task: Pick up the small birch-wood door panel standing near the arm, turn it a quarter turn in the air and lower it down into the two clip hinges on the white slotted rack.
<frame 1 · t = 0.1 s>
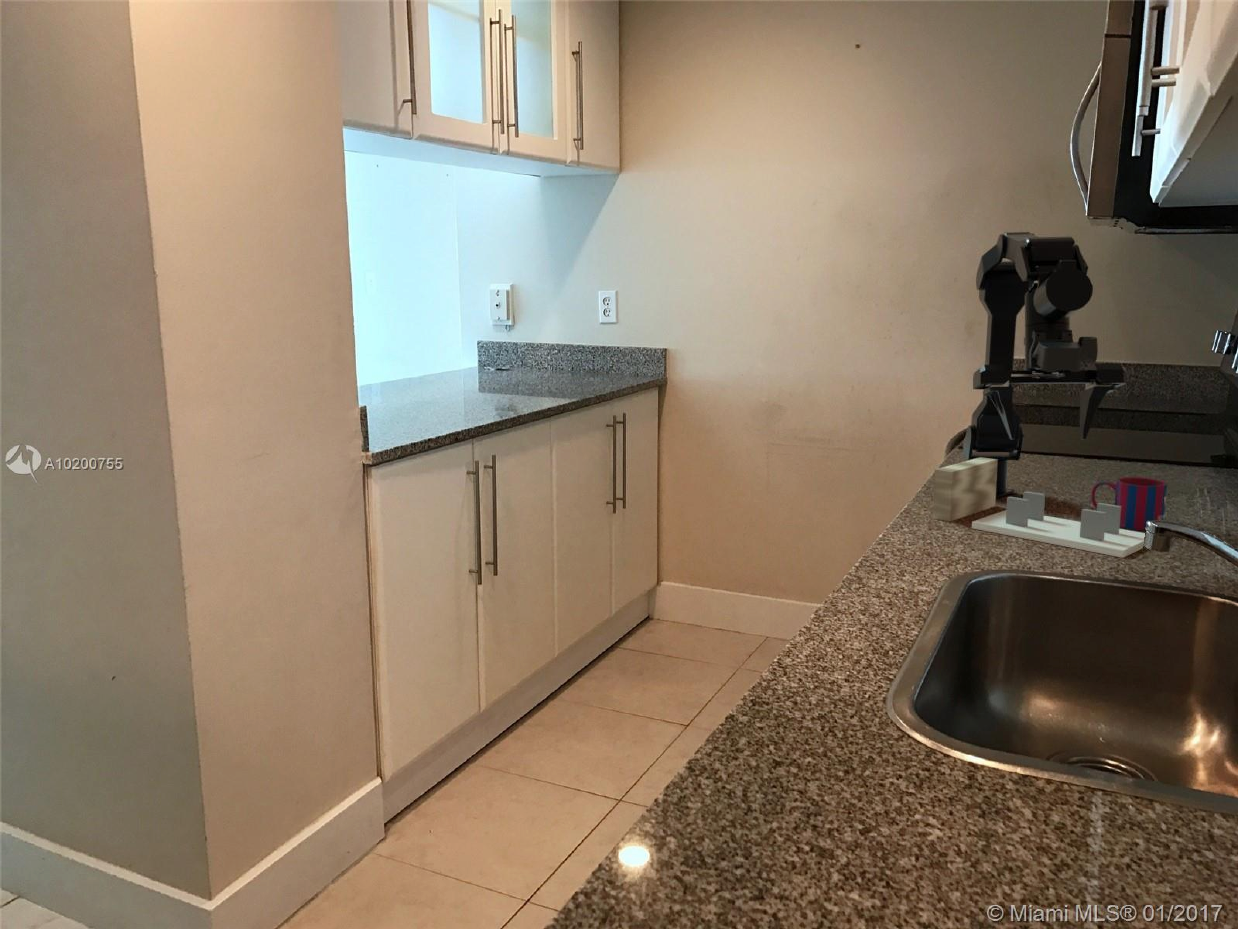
hand: (1047, 439, 132), 15 cm above the counter, tool pointing down, fingers open, 9 cm apart
door: (964, 512, 156), on the counter
mug: (1125, 525, 146), on the counter
white slotted rack: (1060, 534, 141), on the counter
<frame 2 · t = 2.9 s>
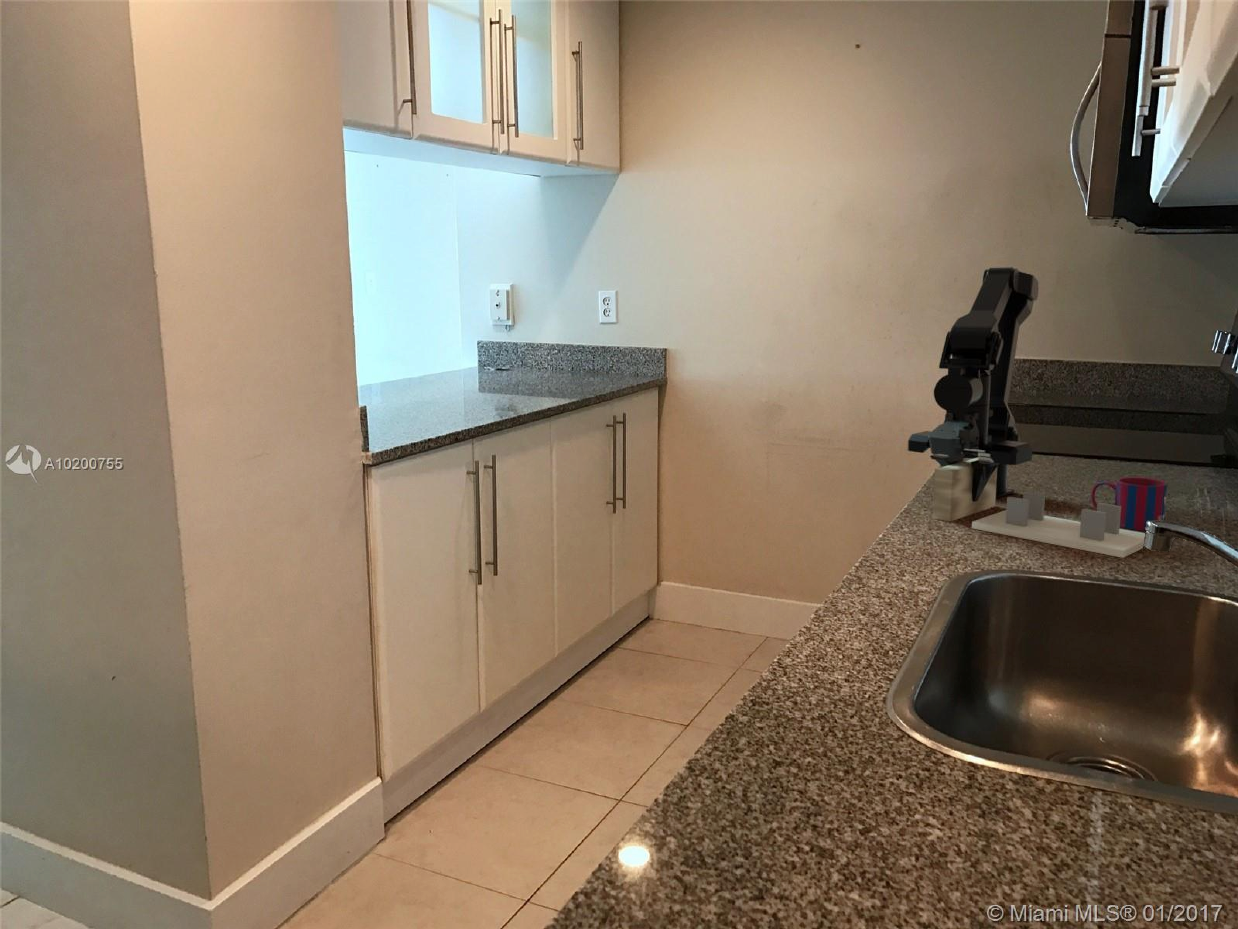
hand: (965, 499, 155), 2 cm above the counter, tool pointing down, fingers closed on door, 3 cm apart
door: (964, 512, 156), on the counter, touching gripper
everything else where it was.
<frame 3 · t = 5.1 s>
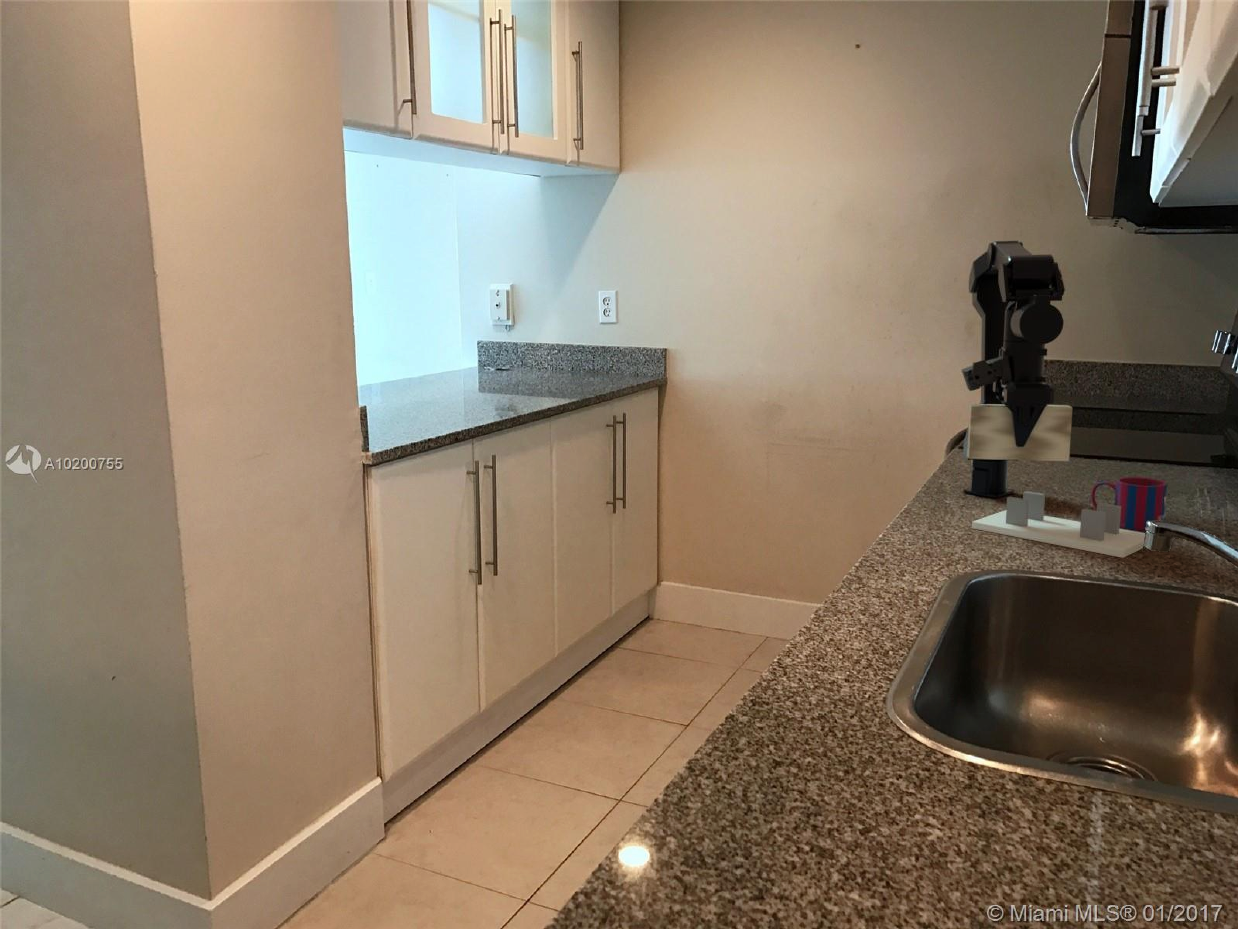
hand: (1018, 445, 145), 12 cm above the counter, tool pointing down, fingers closed on door, 3 cm apart
door: (1016, 458, 145), point 10 cm above the counter, touching gripper
everything else where it was.
when the fingers open (4 cm above the counter, at t = 7.4 s): door drops 1 cm, resting on white slotted rack.
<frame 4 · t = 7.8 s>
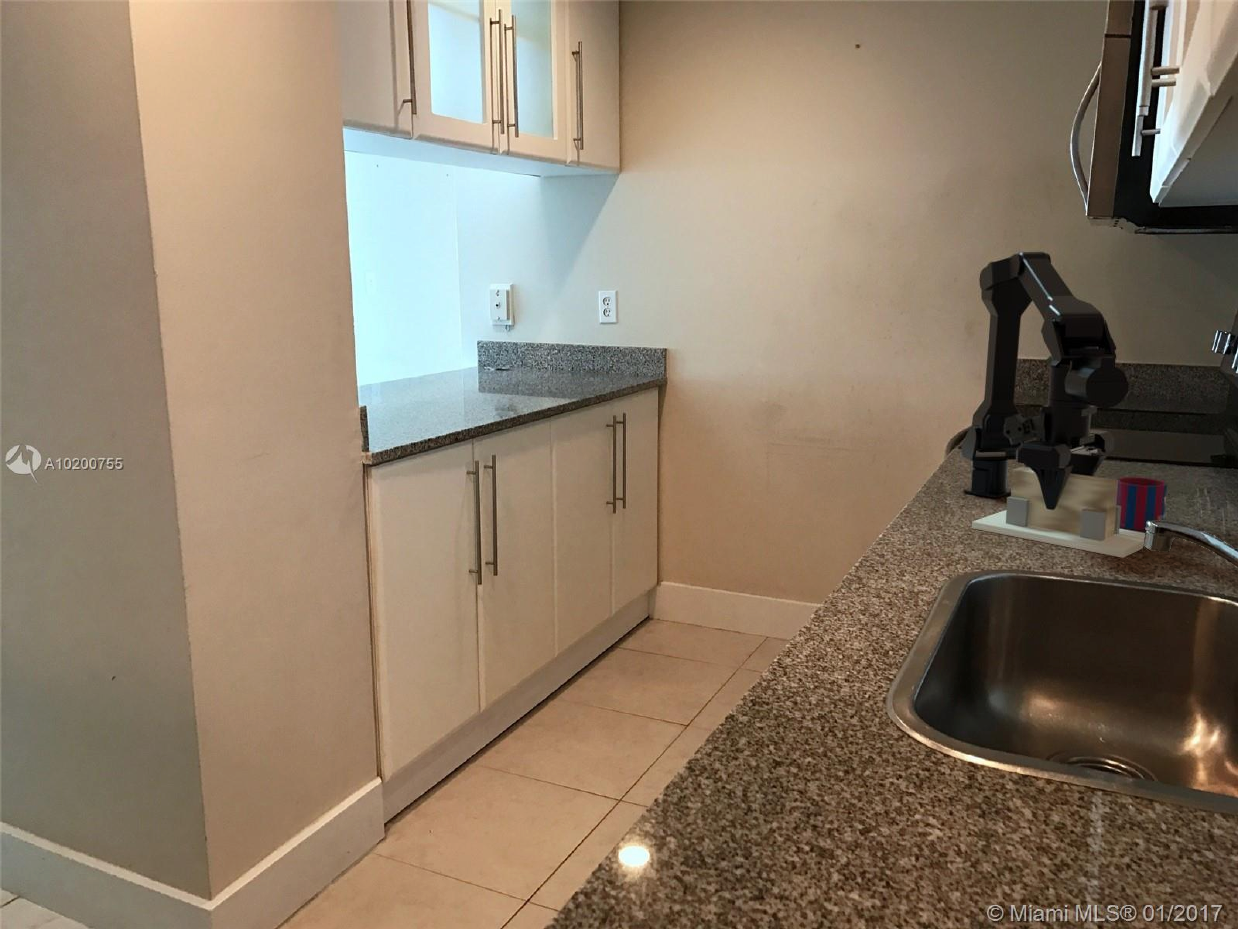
hand: (1062, 505, 140), 4 cm above the counter, tool pointing down, fingers open, 7 cm apart
door: (1060, 528, 141), point 1 cm above the counter, touching white slotted rack
everything else where it was.
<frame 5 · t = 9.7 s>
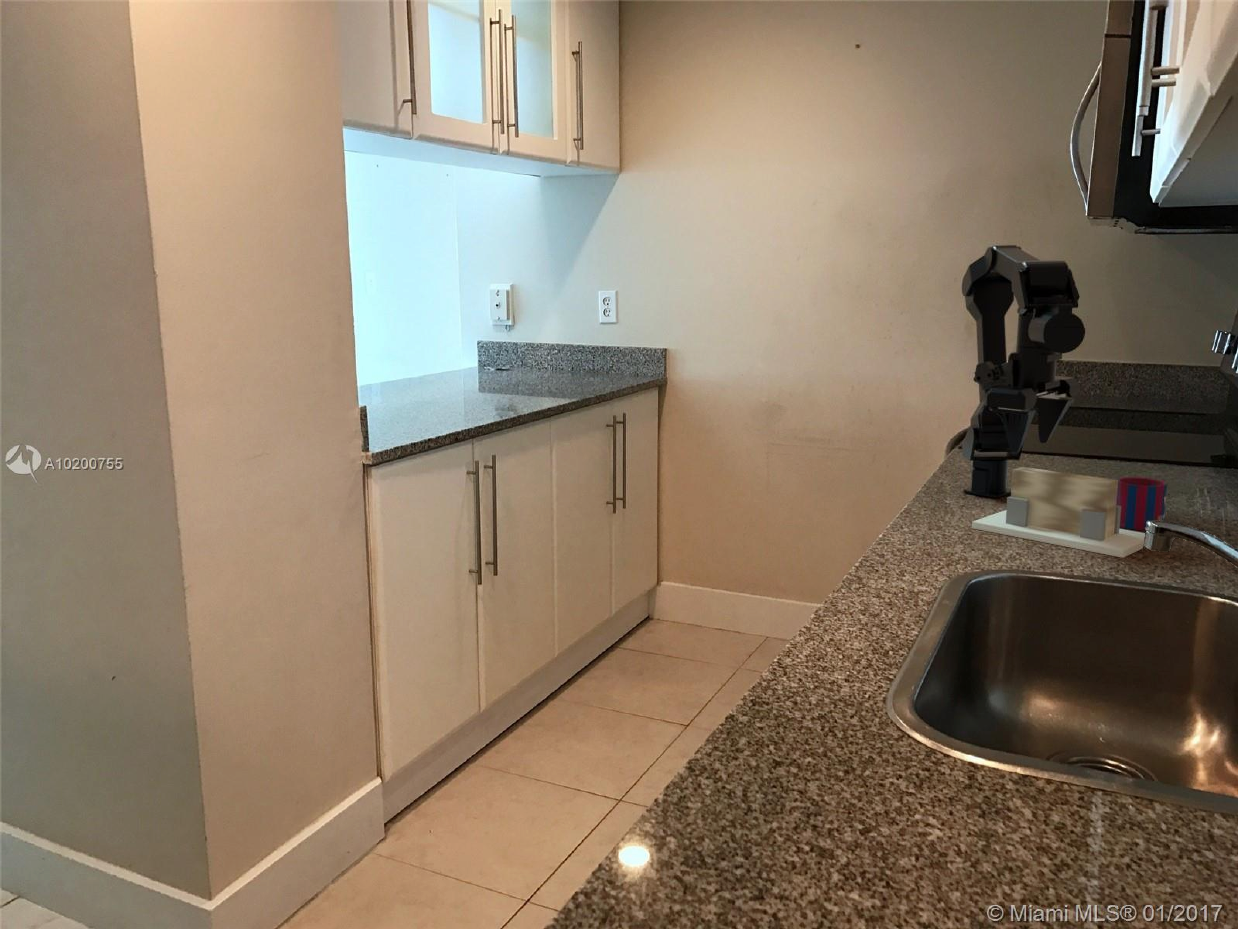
hand: (1029, 447, 148), 11 cm above the counter, tool pointing down, fingers open, 9 cm apart
nothing on the counter moved.
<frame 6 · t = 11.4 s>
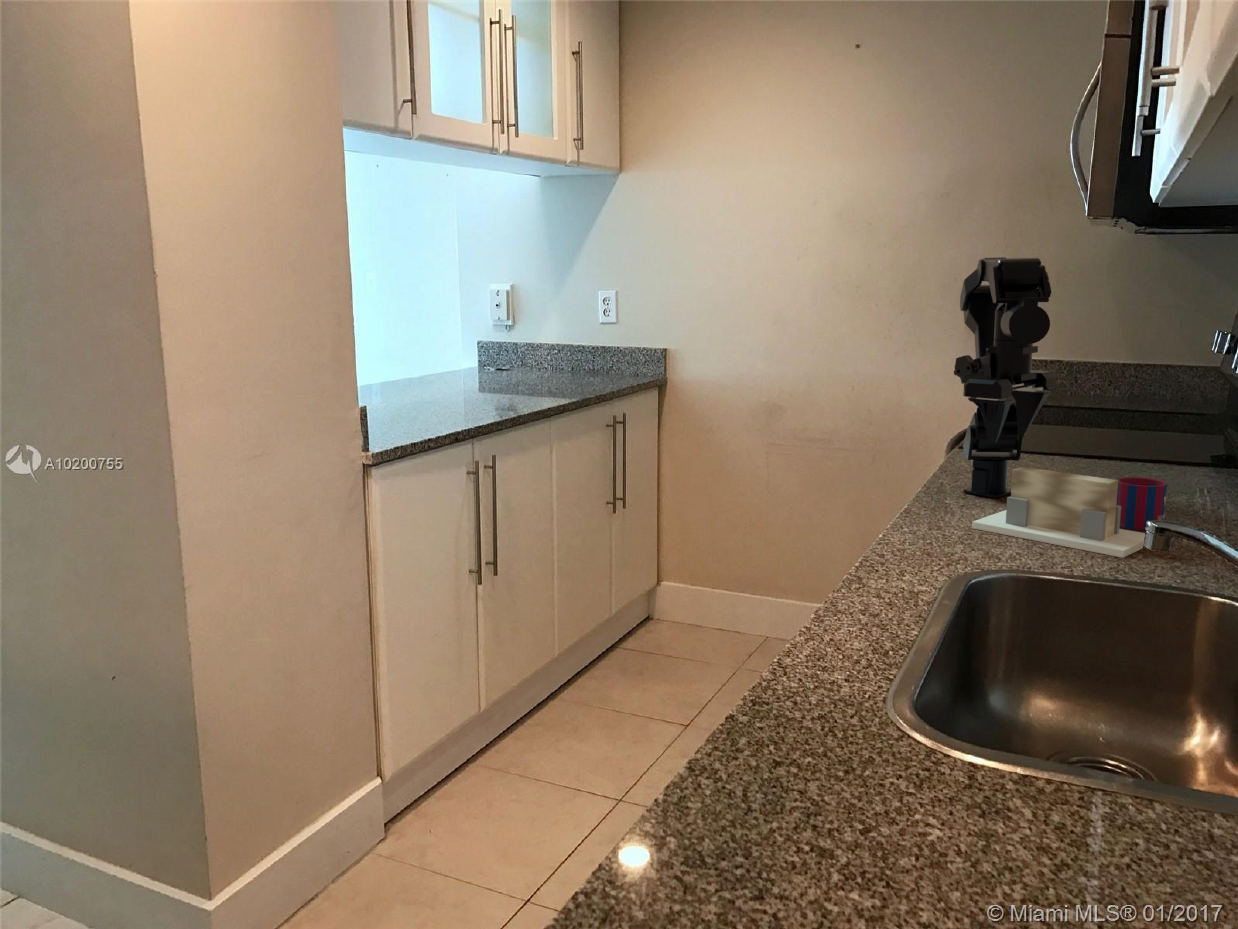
hand: (1007, 437, 153), 12 cm above the counter, tool pointing down, fingers open, 9 cm apart
nothing on the counter moved.
at the end: door 0.1 cm off-centre on the white slotted rack, point 1.0 cm above the white slotted rack's base; door tilted 0°; the gripper is holding nothing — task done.
